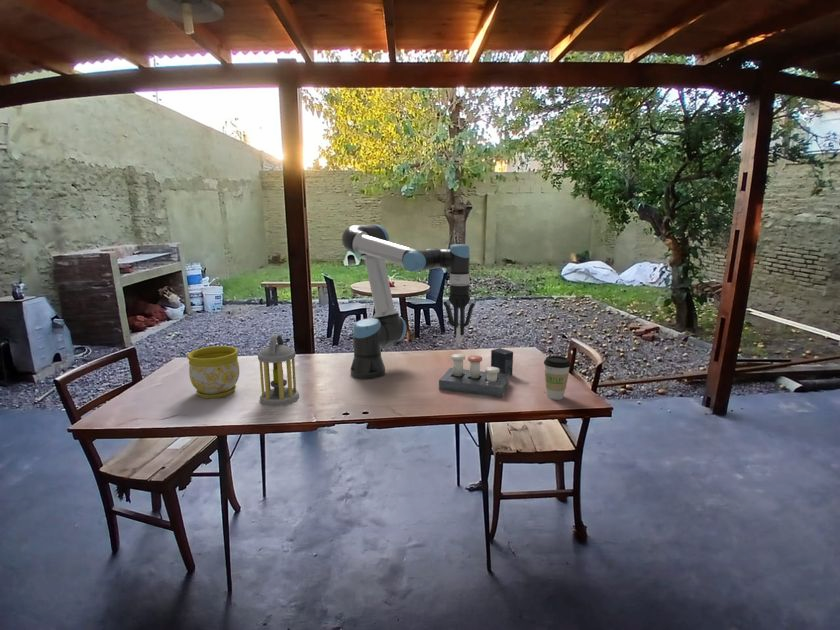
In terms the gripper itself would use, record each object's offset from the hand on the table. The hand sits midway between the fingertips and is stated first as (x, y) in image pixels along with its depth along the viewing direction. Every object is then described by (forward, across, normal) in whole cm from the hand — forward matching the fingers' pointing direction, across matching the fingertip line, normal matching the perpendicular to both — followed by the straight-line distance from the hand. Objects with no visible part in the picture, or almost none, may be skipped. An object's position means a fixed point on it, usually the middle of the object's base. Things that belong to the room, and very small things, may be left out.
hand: (459, 342), depth 190 cm
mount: (+18, +6, 0) cm, 19 cm away
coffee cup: (+18, +38, 0) cm, 42 cm away
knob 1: (+14, 0, 0) cm, 14 cm away
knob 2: (+18, +14, 0) cm, 22 cm away
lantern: (+18, -60, -37) cm, 73 cm away
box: (+18, +14, +19) cm, 30 cm away
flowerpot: (+17, -87, -40) cm, 97 cm away
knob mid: (+14, +7, 0) cm, 15 cm away
